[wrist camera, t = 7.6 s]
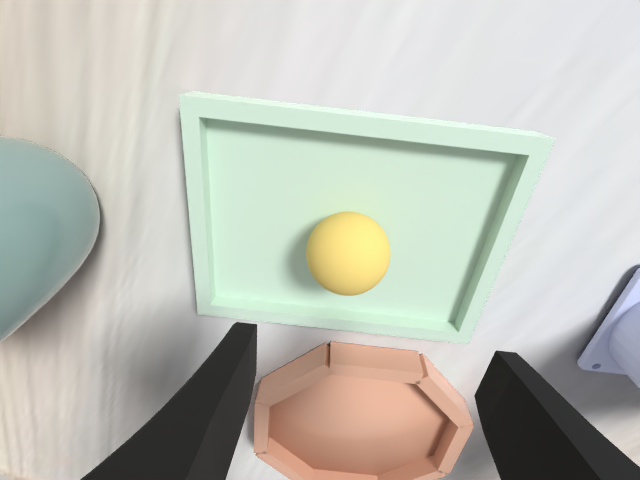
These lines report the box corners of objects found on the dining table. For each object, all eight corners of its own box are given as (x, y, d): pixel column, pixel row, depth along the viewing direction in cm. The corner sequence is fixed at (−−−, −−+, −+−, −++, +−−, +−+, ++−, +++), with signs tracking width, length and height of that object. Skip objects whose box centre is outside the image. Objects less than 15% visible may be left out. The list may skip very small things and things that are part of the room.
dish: (486, 359, 23) (497, 381, 22) (429, 480, 30) (434, 504, 29) (261, 334, 23) (255, 354, 21) (257, 462, 30) (253, 484, 29)
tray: (537, 131, 16) (555, 138, 15) (460, 326, 22) (468, 344, 21) (191, 91, 16) (178, 94, 15) (206, 298, 22) (197, 314, 20)
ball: (393, 205, 18) (407, 244, 14) (375, 270, 20) (383, 319, 16) (315, 192, 17) (309, 228, 14) (304, 259, 19) (297, 306, 16)
